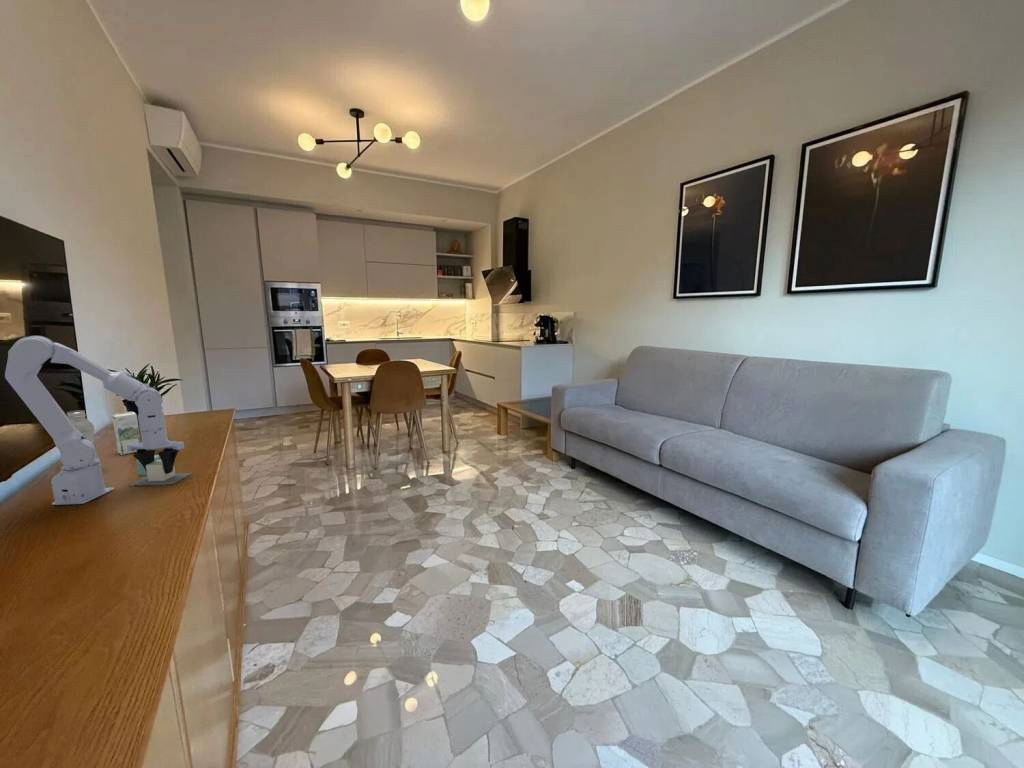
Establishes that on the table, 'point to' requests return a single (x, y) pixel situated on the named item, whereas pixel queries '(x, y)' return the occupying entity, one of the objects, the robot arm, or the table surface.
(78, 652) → the table surface
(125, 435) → the syrup box
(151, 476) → the cream block
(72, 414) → the plastic bottle
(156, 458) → the teal block
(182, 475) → the slate mat
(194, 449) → the table surface
